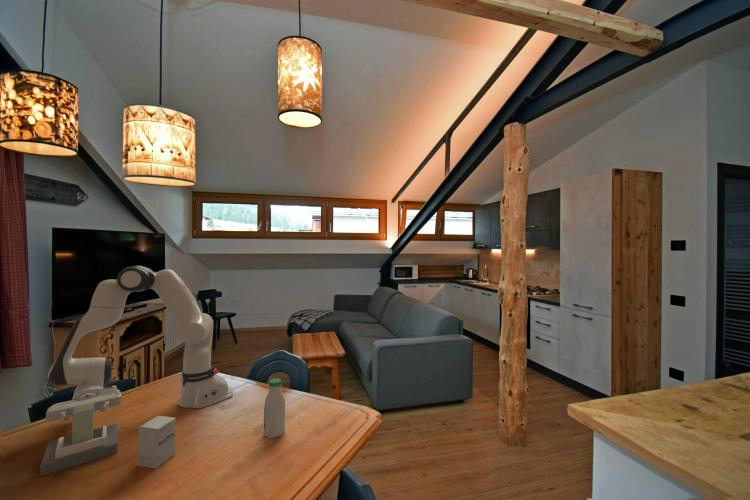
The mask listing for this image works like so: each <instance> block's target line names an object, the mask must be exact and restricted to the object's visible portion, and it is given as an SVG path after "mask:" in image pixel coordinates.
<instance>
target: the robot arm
mask: <svg viewBox="0 0 750 500" xmlns="http://www.w3.org/2000/svg"><path fill="white" fill-rule="evenodd" d="M146 290H153V291H154V292H155V293H156V294H157V296H158V297H159V298H160V300H161V301H162V303H163V305H164V306H165V307H166V308H167V310H168V312H169V313H170V315H171V317H172V319H173V321H174V323H175V326H176V328H177V329H178V332H179V335H180V339H181V340H182V341H183V342H184V343H185V345H184V351H183V358H182V359H183V361H182V362H183V363H182V367H183V368H182V371H181V379H180V380H181V391H180V397H179V399H178V403H177V405H178V406H179V407H180V408H189V409H190V408H194V409H201V408H202V409H203V408H205V407H208V406H211V405H213V404H217V403H219V402H221V401H225V400H227V399H231V398H233V396H234V390H233V388H232V387H230V386H229V385H228V382H227V380H226V379H225V378H224V377H222V376H220V375H218V373H219V370H218V369H217V368H215V367H214V366H213V365H212V345H213V344H212V343H213V336H214V335H213V334H214V333H213V332H214V320H213V317H212V316H211V315H209V314H208V313H204V312H202V311H201V309H200V306H199V305H198V302H197V299H196V298H195V296H194V295H193V293H192V292H191V290H190V289H189V287H188V285H186V283H185V282H184V280H183V279H182V278H181V277H180V276H179V275H178V274H177V272H175V271H174V270H172V269H170V268H168V269H167V268H165V269H162V270H159V271H154V270H153V269H152V268H150V267H147V266H143V265H134V266H127V267H125V268H124V269H122V270H121V271H120V272H119V273H118V275H117V277H116V279H112V278H111V279H105V280H102V281H101V282H98V285H97V286H96V288H95V290H94V293H93V294H92V298H91V301H90V306H89V309H88V310H87V312H86V313H85V314H84V315H83V316H81V317H78V318H77V319H76V320H75V321H74V323H73V324H72V327H71V328H70V331H69V332H68V333H67V336H66V339H65V341H64V343H63V345H62V347H61V349H60V351H59V354H58V356H57V357H56V359H55V361H54V363H53V364H52V365H51V366H50V368H49V370H48V372H47V382H48V383H49V384H51V385H52V386H54V387H63V386H68V385H77V386H76V387H75V389H74V392H73V396H72V399H70V400H66V401H62V402H57V403H54V404H53V405H50V407H48V408H47V410H46V413H45V422H49V423H50V422H55V421H60V420H62V422H66V421H69V420H70V418H72V416H73V410H74V407H75V406H80V405H84V404H89V403H93V402H94V412H98V411H99V413H103V412H106V411H107V409H110V408H114V407H118V406H120V405H122V397H123V396H122V392H121V390H120V389H118V387H117V385H107V384H108V383H109V382H110V380H111V376H112V364H113V363H112V361H111V360H110V359H109V358H108V357H106V356H104V357H103V356H100V357H99V356H97V357H94V356H93V357H82V358H81V357H79V358H74V357H73V354H74V352H75V350H76V347H77V345H78V343H79V342H80V340H81V339H82V338H83V336H85V335H87V334H89V333H92V332H95V331H99V330H102V329H106V328H110V327H111V326H114V325H115V324H117V323H118V322H119V321H120V320H121V319H122V316H123V315H124V311H125V307H126V302H127V298H128V296H129V295H130V294H131V293H134V292H136V293H137V292H143V291H146ZM106 385H107V386H106Z"/></svg>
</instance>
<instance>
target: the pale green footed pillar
mask: <svg viewBox="0 0 750 500" xmlns="http://www.w3.org/2000/svg"><path fill="white" fill-rule="evenodd" d="M71 418H72V419H71V420H72V421H71V435H72V445H74V444H77V443H81V442H85V441H88V440H92V439H93V434H94V429H95V428H94V425H95V423H94V422H95V411H94V402H93V403H89V404H84V405H80V406H75V407H74V410H73V416H72V417H71Z"/></svg>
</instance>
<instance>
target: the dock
mask: <svg viewBox="0 0 750 500" xmlns="http://www.w3.org/2000/svg"><path fill="white" fill-rule="evenodd" d="M113 454H118V423H113V424H110V425H107V424H106V425H103V426H102V427H98V428H94V434H93V439H92V440H88V441H85V442H81V443H77V444H74V445H72V434H71V435H68V436H61V437H59V438H56V439H54V440H49V441H48V443H47V446H46V449H45V451H44V454H43V457H42V459H41V463H40V465H39V477H43V476H46V475H51V474H53V473H56V472H59V471H62V470H66V469H68V468H69V469H70V468H73V467H75V466H78V465H79V466H80V465H81V464H85V463H89V462H91V461H94V460H98V459H100V458H105V457H107V456H110V455H113Z"/></svg>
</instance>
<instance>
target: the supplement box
mask: <svg viewBox="0 0 750 500" xmlns="http://www.w3.org/2000/svg"><path fill="white" fill-rule="evenodd" d="M176 419H177V418H176V417H174V416H173V417H171V416H165V415H157V416H155V417H154V418H152V419H150V420H148V421H146V422H145V423H144V424H142V425H140V426H138V441H137V442H138V443H137V444H138V445H137V466H138V467H143V468H148V469H154V470H157V469H158V468H159V467H160V466H162V465H163V464H164V463H165V462H167V461H168V460H170V459H171V458H172V457H173V456H175V453H176V424H177V422H176V421H177V420H176Z"/></svg>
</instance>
